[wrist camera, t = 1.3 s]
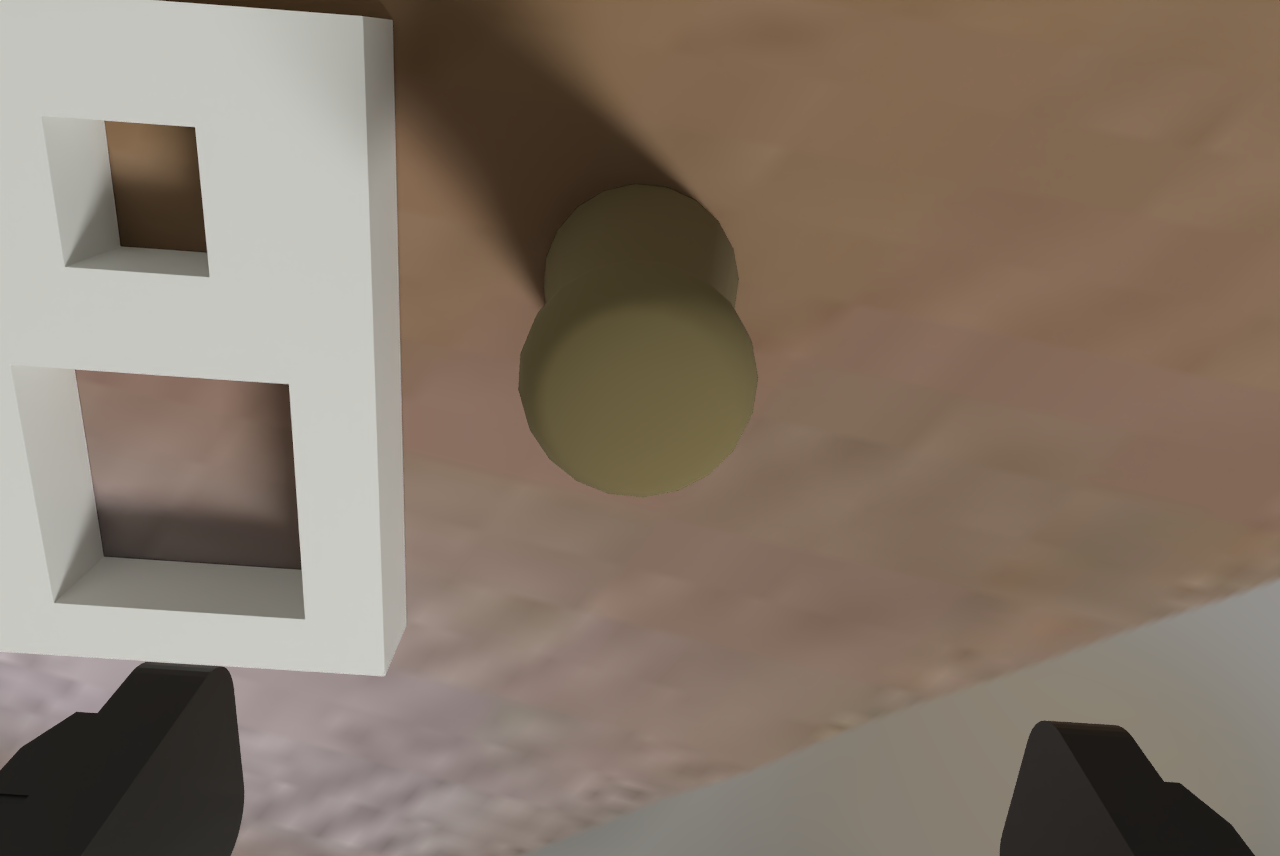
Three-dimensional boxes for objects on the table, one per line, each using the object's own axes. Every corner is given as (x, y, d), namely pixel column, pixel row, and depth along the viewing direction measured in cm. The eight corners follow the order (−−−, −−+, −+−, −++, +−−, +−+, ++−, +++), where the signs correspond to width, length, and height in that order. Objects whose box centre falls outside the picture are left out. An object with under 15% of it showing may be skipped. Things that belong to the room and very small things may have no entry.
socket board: (392, 20, 27) (362, 16, 24) (406, 625, 34) (384, 676, 31) (-75, -16, 26) (-160, -24, 24) (40, 601, 34) (-14, 650, 31)
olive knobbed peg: (503, 269, 29) (425, 386, 19) (655, 140, 28) (660, 192, 18) (627, 412, 31) (617, 589, 21) (777, 297, 30) (845, 428, 19)
